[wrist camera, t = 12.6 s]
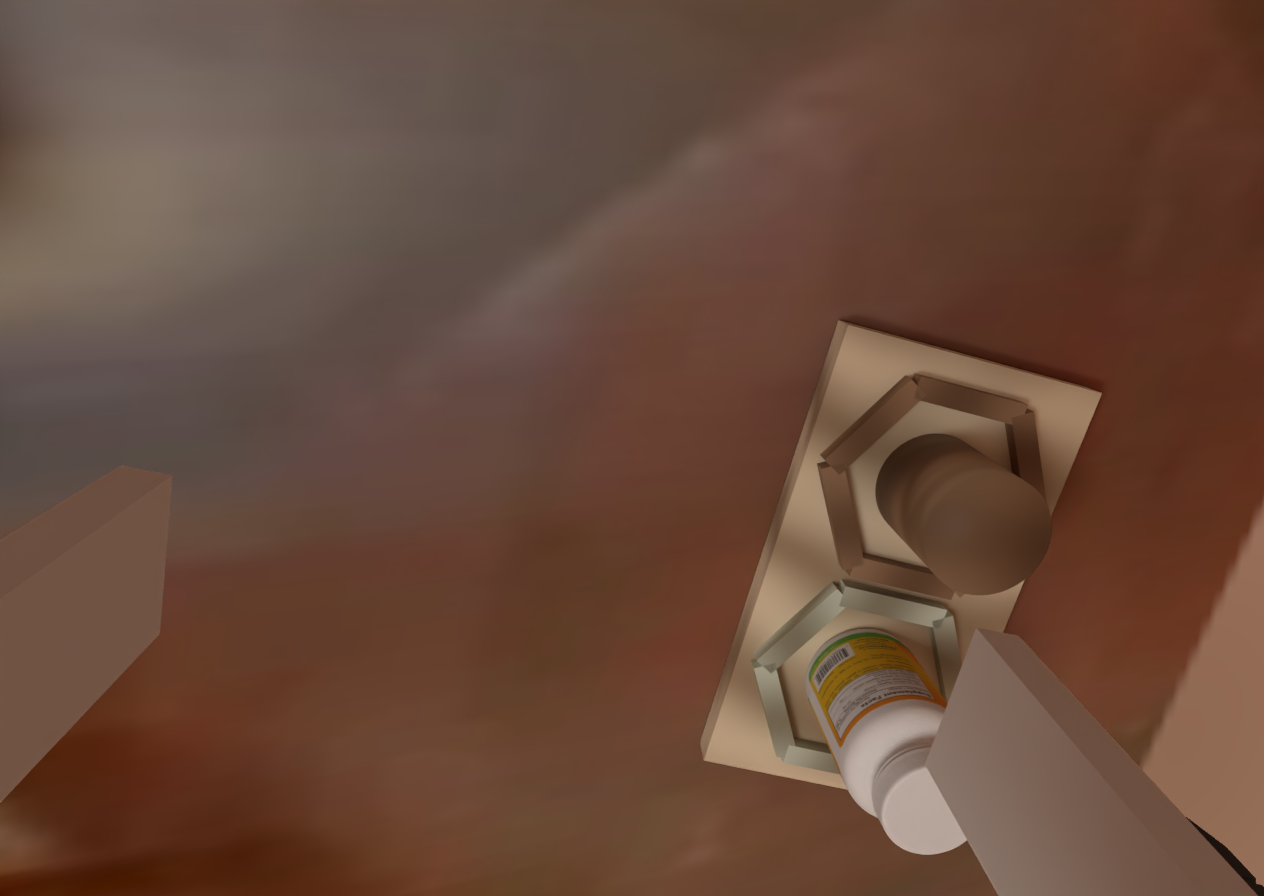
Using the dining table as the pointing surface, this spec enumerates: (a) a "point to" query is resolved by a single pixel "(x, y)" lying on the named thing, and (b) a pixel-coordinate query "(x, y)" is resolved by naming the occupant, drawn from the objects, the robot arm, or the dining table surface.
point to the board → (875, 534)
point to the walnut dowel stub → (963, 514)
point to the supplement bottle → (883, 734)
